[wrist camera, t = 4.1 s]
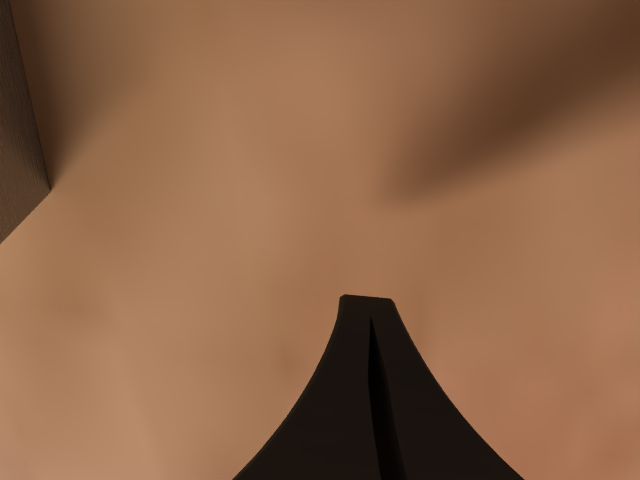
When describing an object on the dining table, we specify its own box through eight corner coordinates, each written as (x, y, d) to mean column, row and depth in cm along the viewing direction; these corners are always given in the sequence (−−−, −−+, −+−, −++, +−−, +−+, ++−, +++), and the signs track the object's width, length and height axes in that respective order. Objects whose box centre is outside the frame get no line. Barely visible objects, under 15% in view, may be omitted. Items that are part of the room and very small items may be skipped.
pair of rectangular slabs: (1004, -240, 10) (1316, -301, 7) (704, 255, 17) (791, 344, 14) (-137, -370, 10) (-377, -500, 7) (12, 188, 17) (-71, 263, 13)
